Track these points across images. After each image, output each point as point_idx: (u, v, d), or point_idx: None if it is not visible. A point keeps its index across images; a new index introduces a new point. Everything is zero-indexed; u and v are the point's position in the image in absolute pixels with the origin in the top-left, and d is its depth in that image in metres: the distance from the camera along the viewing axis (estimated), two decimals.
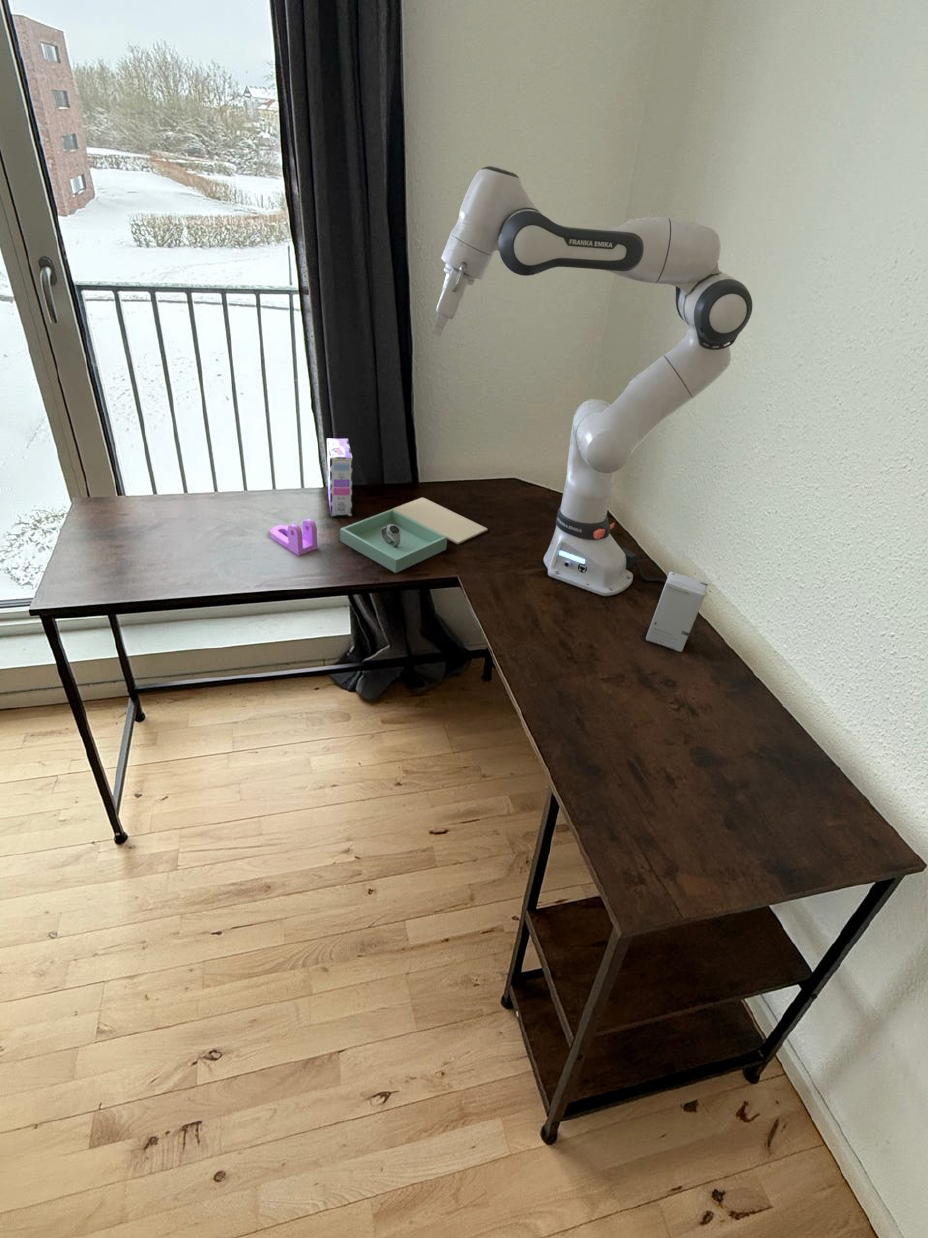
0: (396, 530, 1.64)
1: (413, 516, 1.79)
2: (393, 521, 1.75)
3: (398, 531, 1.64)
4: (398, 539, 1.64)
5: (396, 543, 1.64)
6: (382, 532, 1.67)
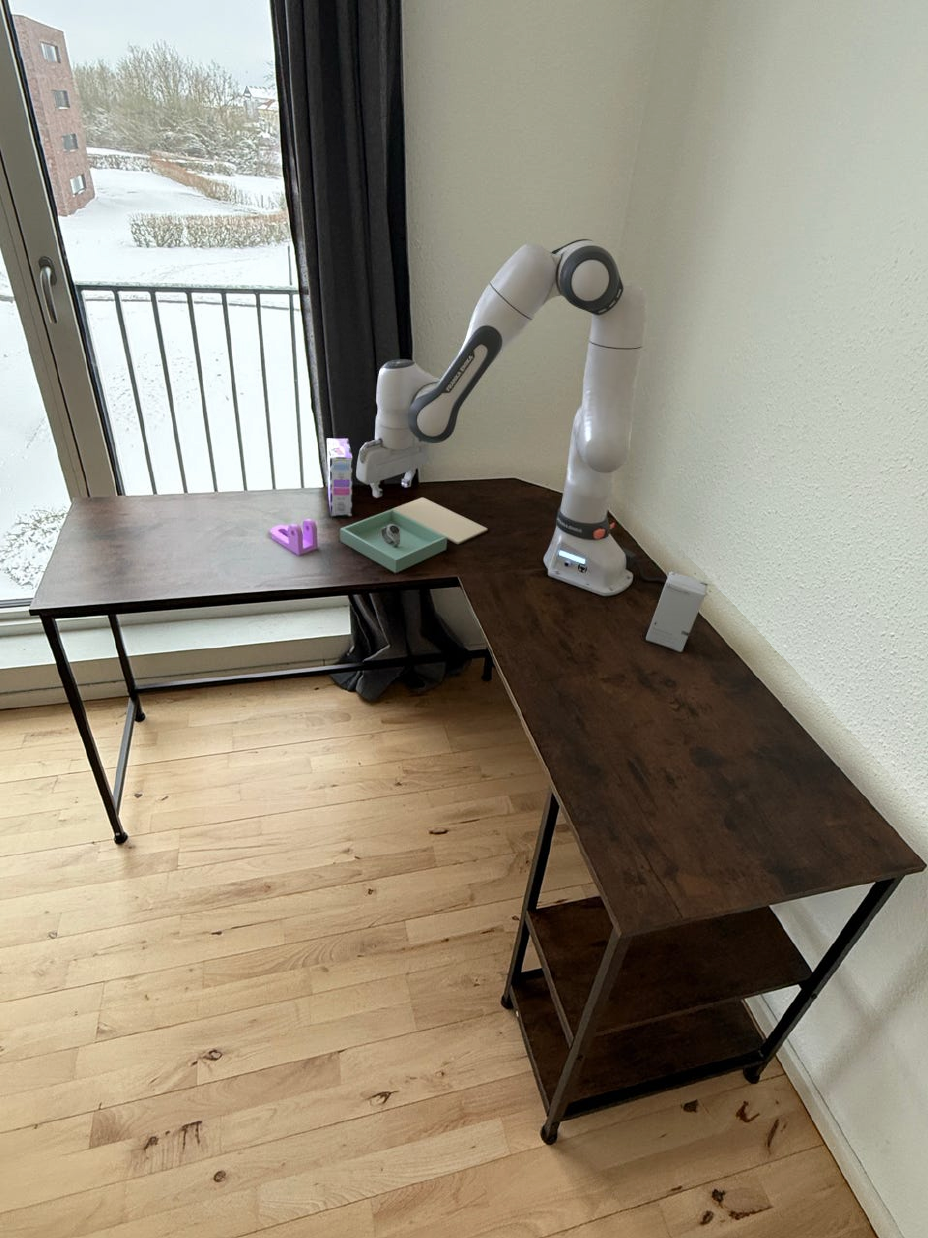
0: (396, 530, 1.64)
1: (413, 516, 1.79)
2: (393, 521, 1.75)
3: (398, 531, 1.64)
4: (398, 539, 1.64)
5: (396, 543, 1.64)
6: (382, 532, 1.67)
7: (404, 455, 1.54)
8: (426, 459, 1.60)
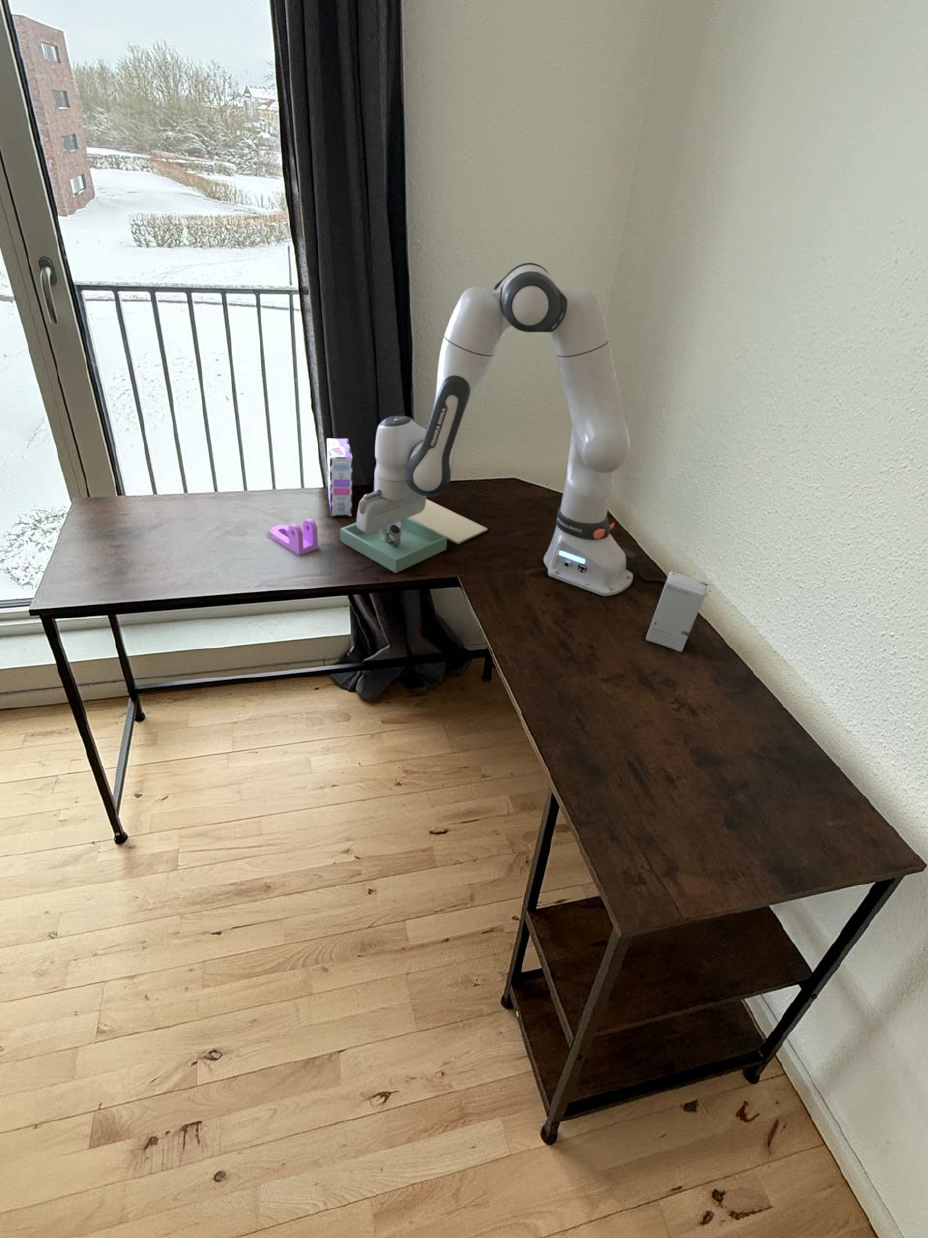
0: (397, 530, 1.64)
1: (413, 516, 1.79)
2: None
3: (399, 531, 1.64)
4: (399, 539, 1.64)
5: (396, 543, 1.64)
6: None
7: (402, 504, 1.61)
8: (423, 506, 1.67)
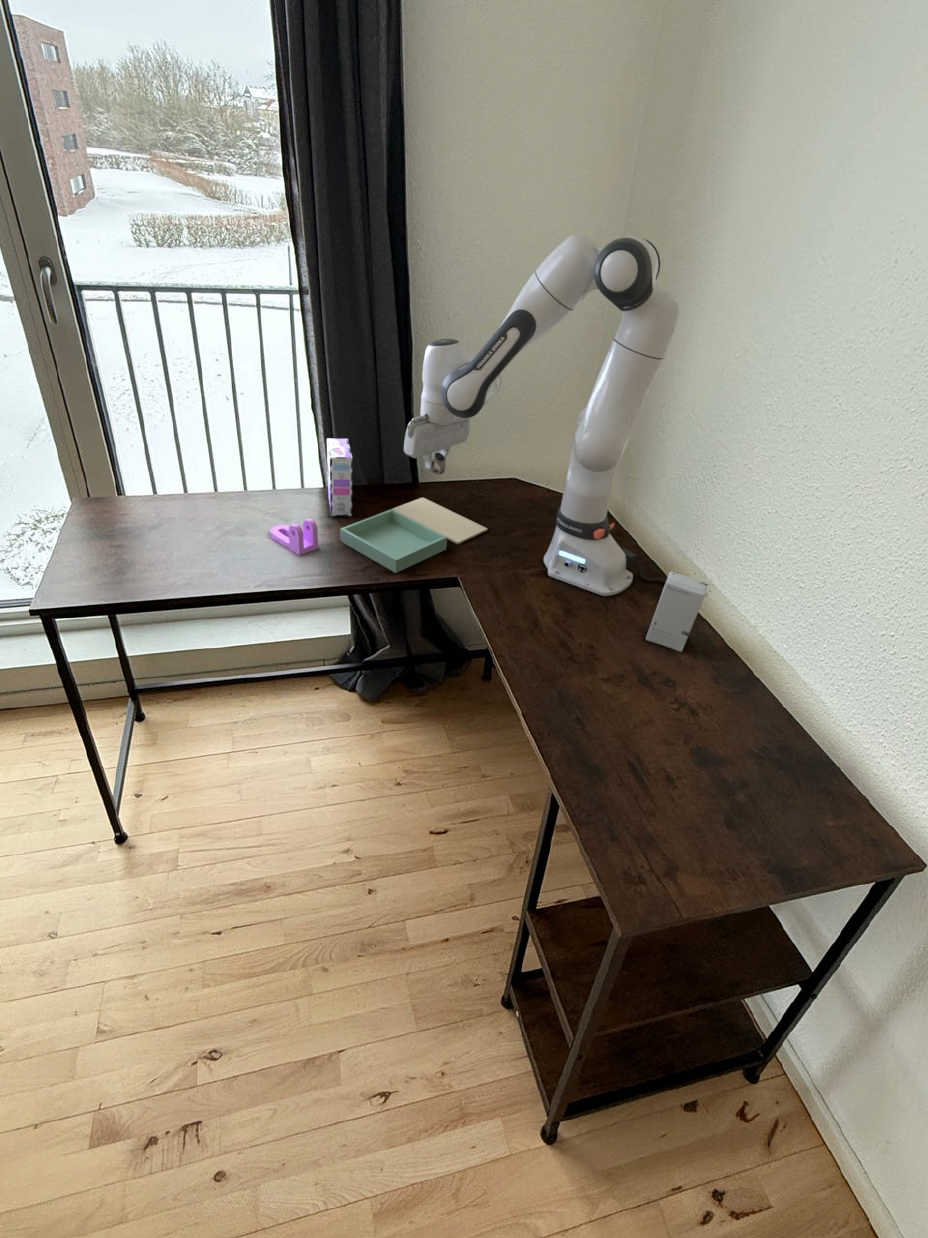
0: (441, 458, 1.66)
1: (413, 516, 1.79)
2: (393, 521, 1.75)
3: (443, 458, 1.66)
4: (443, 466, 1.66)
5: (441, 470, 1.66)
6: None
7: (447, 430, 1.63)
8: (467, 435, 1.69)
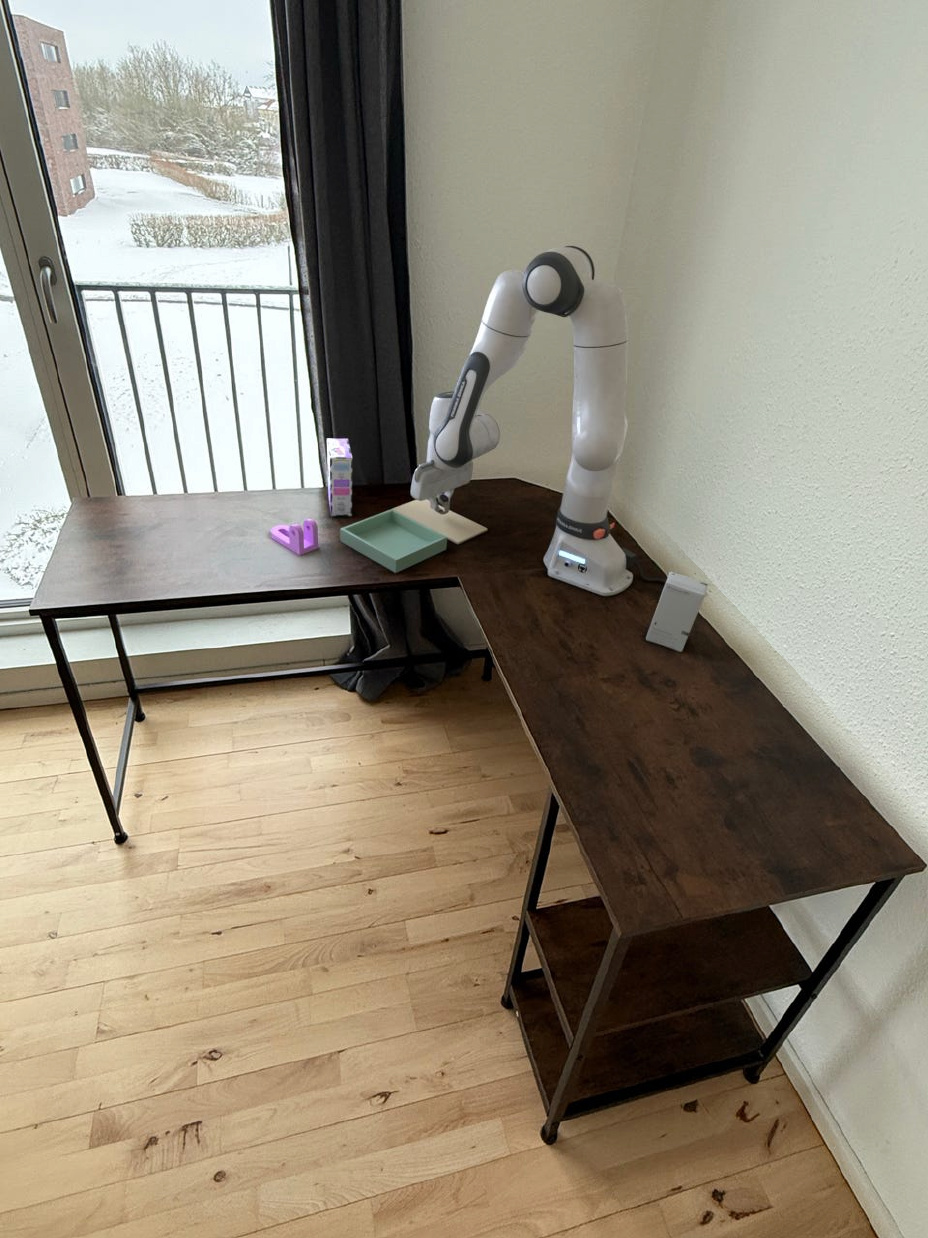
0: (445, 499, 1.76)
1: (413, 516, 1.79)
2: (393, 521, 1.75)
3: (447, 500, 1.76)
4: (447, 507, 1.75)
5: (445, 511, 1.76)
6: None
7: (452, 474, 1.73)
8: (470, 477, 1.79)
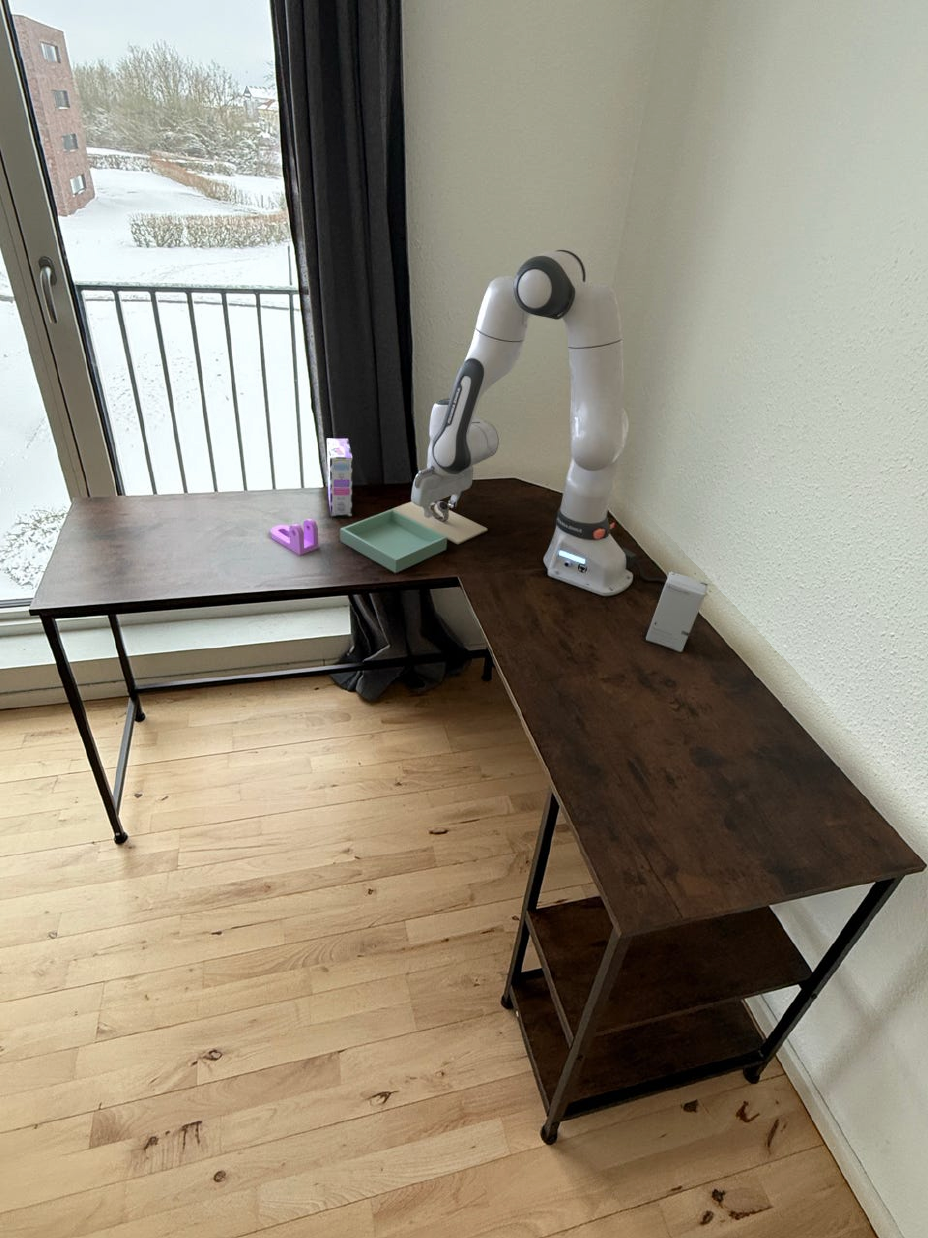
0: (445, 506, 1.77)
1: (413, 516, 1.79)
2: (393, 521, 1.75)
3: (447, 507, 1.77)
4: (447, 514, 1.77)
5: (445, 518, 1.77)
6: (431, 508, 1.80)
7: (452, 480, 1.74)
8: (470, 482, 1.80)
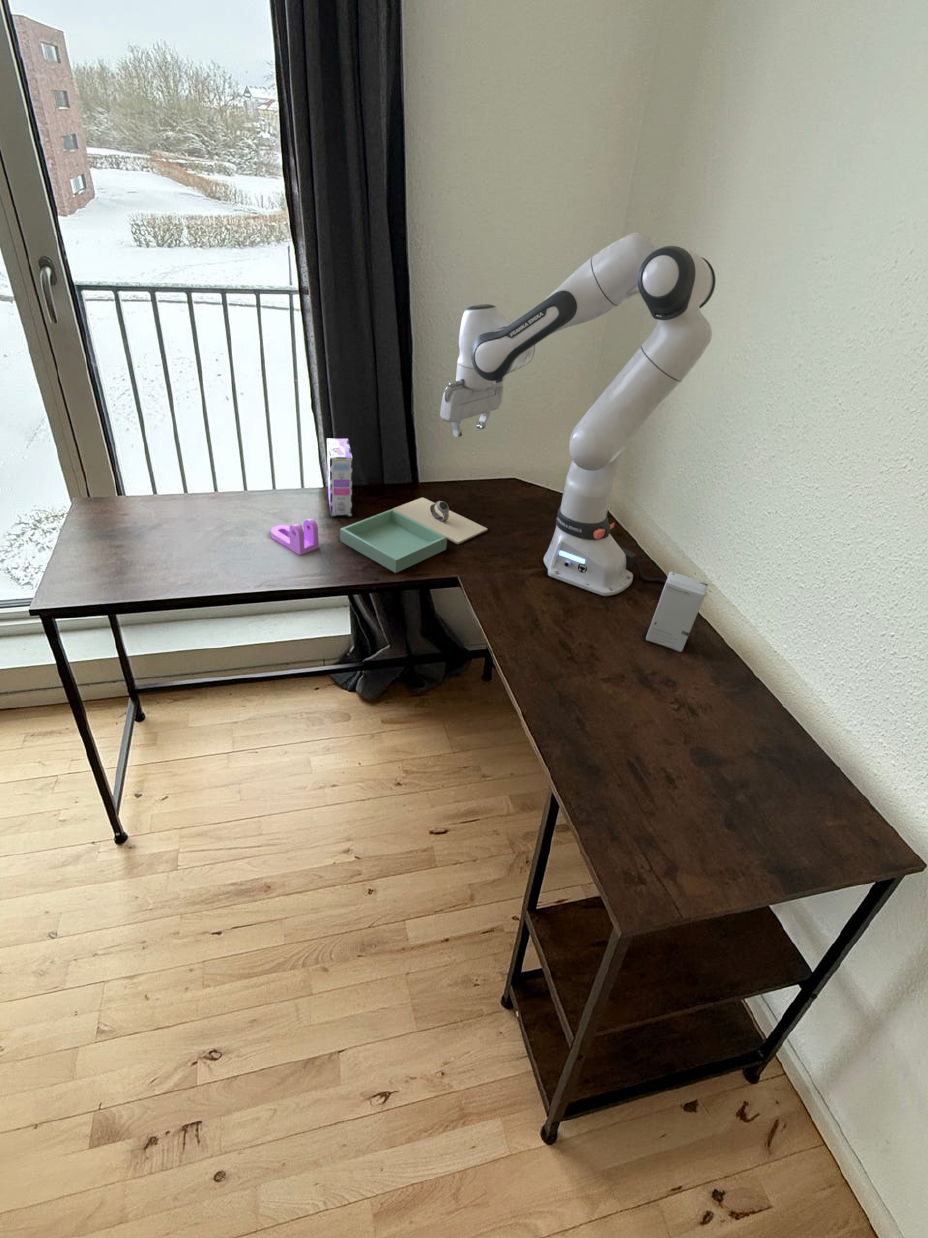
0: (445, 506, 1.77)
1: (413, 516, 1.79)
2: (393, 521, 1.75)
3: (447, 507, 1.77)
4: (447, 514, 1.77)
5: (445, 518, 1.77)
6: (431, 508, 1.80)
7: (482, 396, 1.66)
8: (500, 402, 1.71)
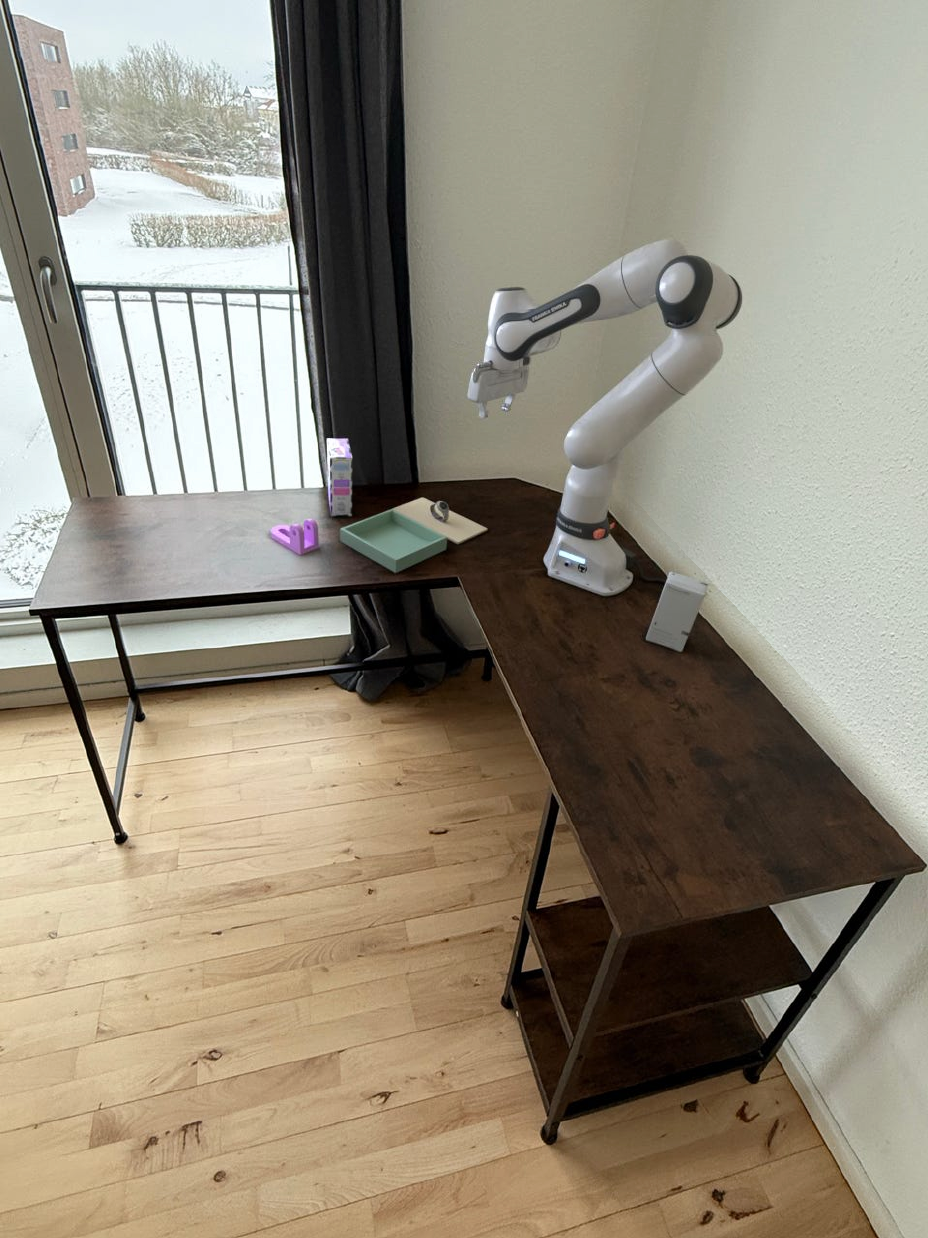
0: (445, 506, 1.77)
1: (413, 516, 1.79)
2: (393, 521, 1.75)
3: (447, 507, 1.77)
4: (447, 514, 1.77)
5: (445, 518, 1.77)
6: (431, 508, 1.80)
7: (508, 379, 1.68)
8: (525, 385, 1.74)
